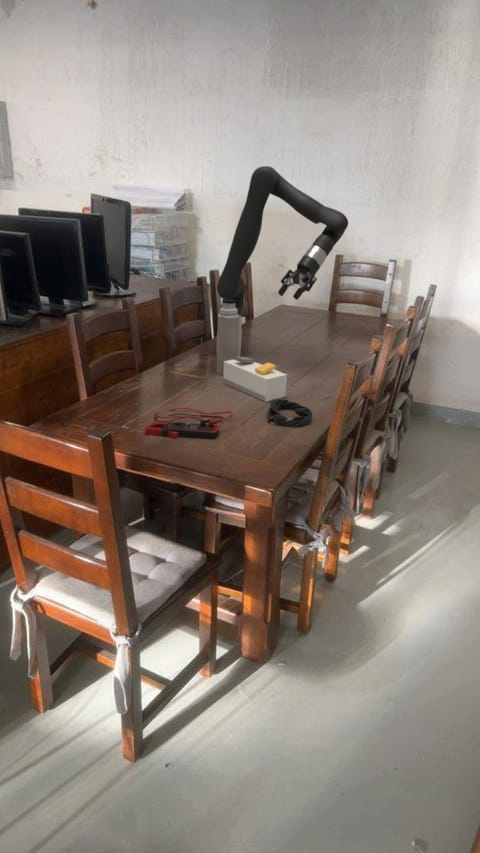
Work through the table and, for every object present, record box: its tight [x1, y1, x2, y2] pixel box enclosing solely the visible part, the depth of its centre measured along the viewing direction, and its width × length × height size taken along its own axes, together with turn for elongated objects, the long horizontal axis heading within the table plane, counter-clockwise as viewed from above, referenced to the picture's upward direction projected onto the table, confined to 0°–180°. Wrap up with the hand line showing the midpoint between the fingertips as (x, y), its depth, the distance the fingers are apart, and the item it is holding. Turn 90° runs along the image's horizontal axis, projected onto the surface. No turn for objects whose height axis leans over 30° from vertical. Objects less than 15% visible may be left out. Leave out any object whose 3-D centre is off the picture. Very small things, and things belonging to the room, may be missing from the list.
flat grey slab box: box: [234, 356, 255, 364], centre depth 211 cm, size 4×6×2 cm, turn 128°
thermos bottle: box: [216, 299, 239, 376], centre depth 222 cm, size 8×8×28 cm
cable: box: [266, 398, 313, 428], centre depth 187 cm, size 17×14×4 cm
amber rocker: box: [255, 362, 277, 375], centre depth 203 cm, size 4×6×2 cm, turn 128°
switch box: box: [222, 359, 288, 402], centre depth 209 cm, size 24×9×8 cm, turn 38°
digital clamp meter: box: [144, 407, 234, 440], centre depth 180 cm, size 23×4×25 cm
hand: (287, 296), depth 214 cm, fingers open, 8 cm apart
